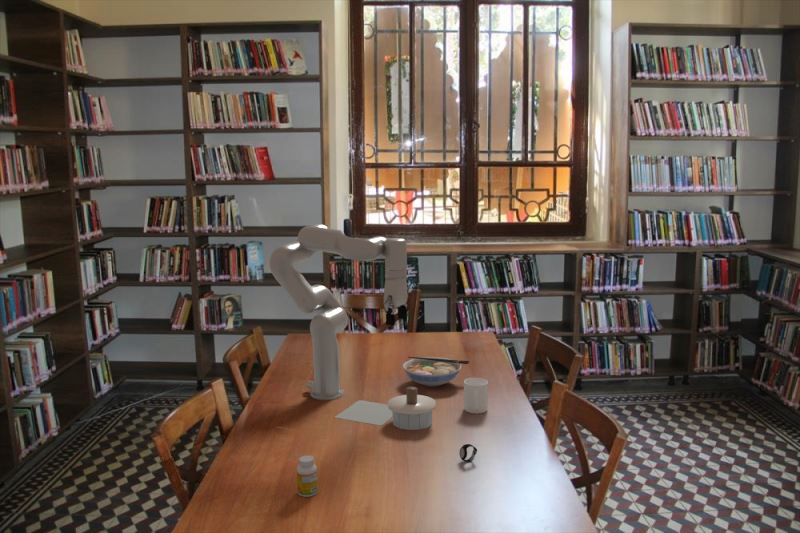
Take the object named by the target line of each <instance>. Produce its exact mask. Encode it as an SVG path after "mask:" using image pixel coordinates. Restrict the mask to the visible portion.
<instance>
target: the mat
mask: <svg viewBox="0 0 800 533" xmlns="http://www.w3.org/2000/svg"><path fill="white" fill-rule="evenodd" d="M333 418H335V419H339V420H346V421H351V422H358V423H364V424H369V425H374V426H380V427H382V426H383V425H384V424H386V423H387V422H388V421H390V419H392V411H391V410H390V409H389V408H388V403H380V402H373V401H368V400H367V401H366V400H362V399H359V400H358V401H356V402H354V403H352V404H351V405H350V406H349V407H347V408H345V409H344V410H343V411H341V412H340V413H338V414H337V415H335V416H334V417H333Z"/></svg>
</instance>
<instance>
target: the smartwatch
mask: <svg viewBox="0 0 800 533" xmlns="http://www.w3.org/2000/svg"><path fill="white" fill-rule="evenodd" d="M470 447H472V448H473V450H472V453H471V456H470V457H469V458H468V459H467V456H468V448H470ZM477 453H478V449H477V448H476V447H475V446H473V445H472V444H470V443H468V444H466V443H465V444H463V445H462V446H461V448H460V449H459V457H460V460H462V461H463V462H465V463H471V462H472V461H473V460H474V459H475V456H476V455H477Z"/></svg>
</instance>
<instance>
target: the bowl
mask: <svg viewBox="0 0 800 533" xmlns="http://www.w3.org/2000/svg"><path fill="white" fill-rule="evenodd" d="M391 419H392V420H391V421H392V425H393V426H394V427H396V428H398V429H401V430H405V431H406V430H407V431H416V430H423V429H424V430H426V429H428V428H430V427H431V426H432V425H433V410H432V411H431V412H428V413H424V414H418V415H405V414H399V413H395V412H393V411H392V418H391Z"/></svg>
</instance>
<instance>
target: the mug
mask: <svg viewBox="0 0 800 533" xmlns="http://www.w3.org/2000/svg"><path fill="white" fill-rule="evenodd" d="M488 392H489V382H488V380H487V379H484V378H481V377H470V378H466V379H464V380H463V409H464V411H465V412H466V413H468V414H474V415H479V413H480V414H483V413H486V412H487V411H488V408H489V407H488V404H489V403H488V402H489V400H488V398H489V396H488Z"/></svg>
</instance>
